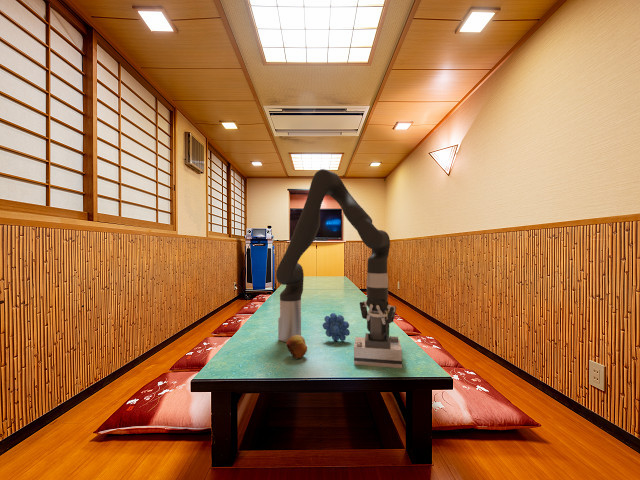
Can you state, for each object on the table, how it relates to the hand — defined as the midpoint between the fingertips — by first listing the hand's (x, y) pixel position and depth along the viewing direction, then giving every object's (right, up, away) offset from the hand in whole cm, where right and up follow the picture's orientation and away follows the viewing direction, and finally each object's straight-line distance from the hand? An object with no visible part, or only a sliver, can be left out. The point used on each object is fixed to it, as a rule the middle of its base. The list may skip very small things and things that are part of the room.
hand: (377, 332), depth 104 cm
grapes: (-14, -10, +19) cm, 25 cm away
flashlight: (0, -3, 0) cm, 3 cm away
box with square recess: (0, -10, 0) cm, 10 cm away
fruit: (-29, -10, +2) cm, 31 cm away
